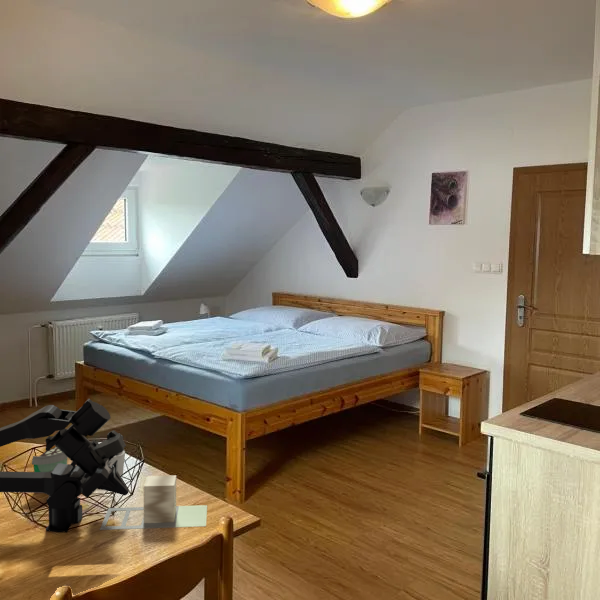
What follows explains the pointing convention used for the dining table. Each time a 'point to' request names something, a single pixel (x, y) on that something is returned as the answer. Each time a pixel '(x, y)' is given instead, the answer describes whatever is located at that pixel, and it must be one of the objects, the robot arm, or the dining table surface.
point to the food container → (48, 460)
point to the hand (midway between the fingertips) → (127, 493)
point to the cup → (119, 462)
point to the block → (159, 499)
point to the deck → (183, 518)
